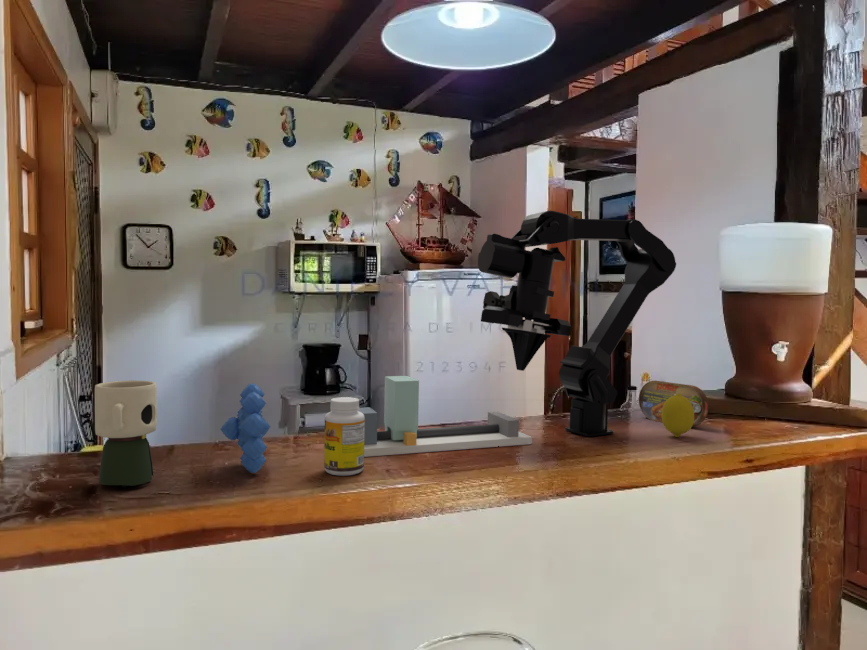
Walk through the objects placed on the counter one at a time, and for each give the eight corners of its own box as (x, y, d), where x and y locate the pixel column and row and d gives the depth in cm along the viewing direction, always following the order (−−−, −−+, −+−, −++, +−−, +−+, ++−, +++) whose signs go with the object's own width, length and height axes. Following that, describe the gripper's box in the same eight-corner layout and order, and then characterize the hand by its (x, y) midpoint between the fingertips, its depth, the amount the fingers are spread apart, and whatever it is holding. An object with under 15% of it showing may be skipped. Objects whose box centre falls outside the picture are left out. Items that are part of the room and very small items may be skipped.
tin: (637, 417, 131) (638, 377, 130) (646, 416, 132) (648, 377, 132) (700, 431, 118) (702, 387, 117) (710, 429, 119) (712, 386, 119)
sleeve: (406, 431, 105) (407, 375, 105) (417, 439, 100) (418, 380, 99) (383, 433, 104) (384, 376, 103) (394, 441, 98) (395, 381, 98)
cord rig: (504, 431, 114) (505, 398, 114) (531, 444, 105) (532, 407, 104) (344, 442, 104) (345, 405, 103) (358, 457, 94) (359, 417, 94)
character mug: (149, 496, 75) (148, 389, 74) (84, 500, 73) (82, 391, 72) (163, 470, 85) (163, 377, 85) (106, 473, 83) (105, 378, 83)
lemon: (658, 438, 111) (660, 394, 111) (663, 432, 116) (664, 390, 116) (692, 442, 108) (693, 397, 108) (694, 436, 113) (696, 392, 113)
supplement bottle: (320, 467, 88) (320, 397, 88) (357, 464, 90) (358, 395, 90) (329, 478, 83) (330, 403, 83) (369, 474, 85) (369, 401, 85)
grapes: (220, 460, 91) (220, 379, 91) (267, 457, 93) (267, 378, 93) (220, 483, 80) (220, 392, 80) (273, 479, 82) (274, 390, 82)
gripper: (530, 288, 121) (518, 367, 121) (464, 271, 108) (451, 359, 108) (578, 292, 113) (565, 376, 113) (513, 274, 100) (498, 369, 100)
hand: (520, 370), depth 109 cm, fingers closed
